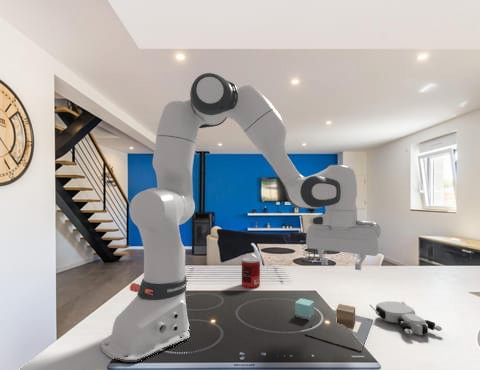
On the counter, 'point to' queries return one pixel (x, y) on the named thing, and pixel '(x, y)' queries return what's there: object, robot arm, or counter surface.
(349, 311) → the walnut block
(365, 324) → the mat
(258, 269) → the canned food
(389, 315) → the robot toy
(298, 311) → the teal block
